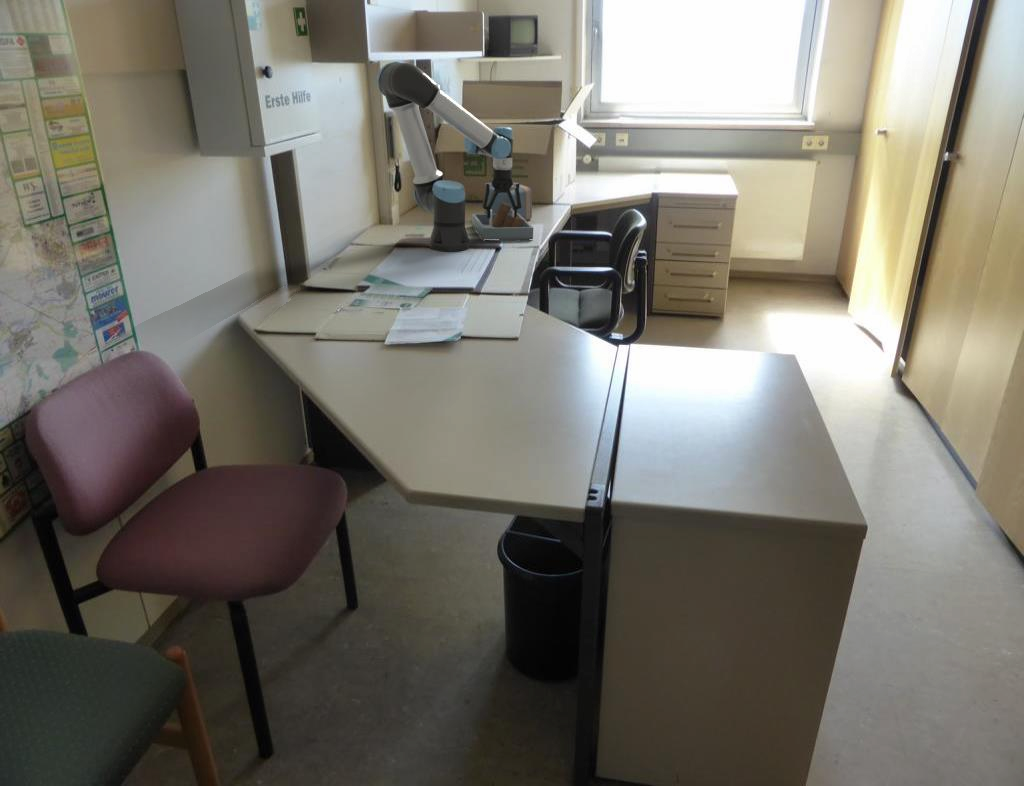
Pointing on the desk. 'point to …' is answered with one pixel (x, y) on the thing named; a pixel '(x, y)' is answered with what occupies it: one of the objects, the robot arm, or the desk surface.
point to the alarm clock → (524, 198)
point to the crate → (501, 229)
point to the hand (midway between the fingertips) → (501, 226)
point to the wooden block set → (506, 218)
